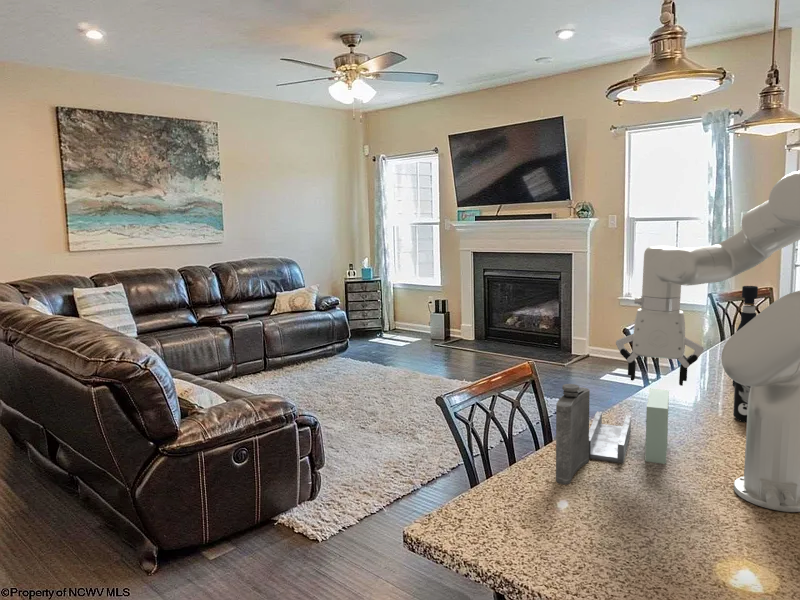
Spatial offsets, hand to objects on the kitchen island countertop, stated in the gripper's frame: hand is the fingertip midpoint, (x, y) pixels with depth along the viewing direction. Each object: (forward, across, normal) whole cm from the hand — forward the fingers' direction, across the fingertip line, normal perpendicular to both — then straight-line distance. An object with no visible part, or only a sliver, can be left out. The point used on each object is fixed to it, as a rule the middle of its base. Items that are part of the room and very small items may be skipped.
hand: (656, 381), depth 126 cm
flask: (+16, -15, -18) cm, 28 cm away
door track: (+16, -9, -1) cm, 18 cm away
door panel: (+16, +1, -1) cm, 16 cm away
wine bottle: (+16, +23, +60) cm, 67 cm away
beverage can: (+16, +21, +28) cm, 39 cm away
